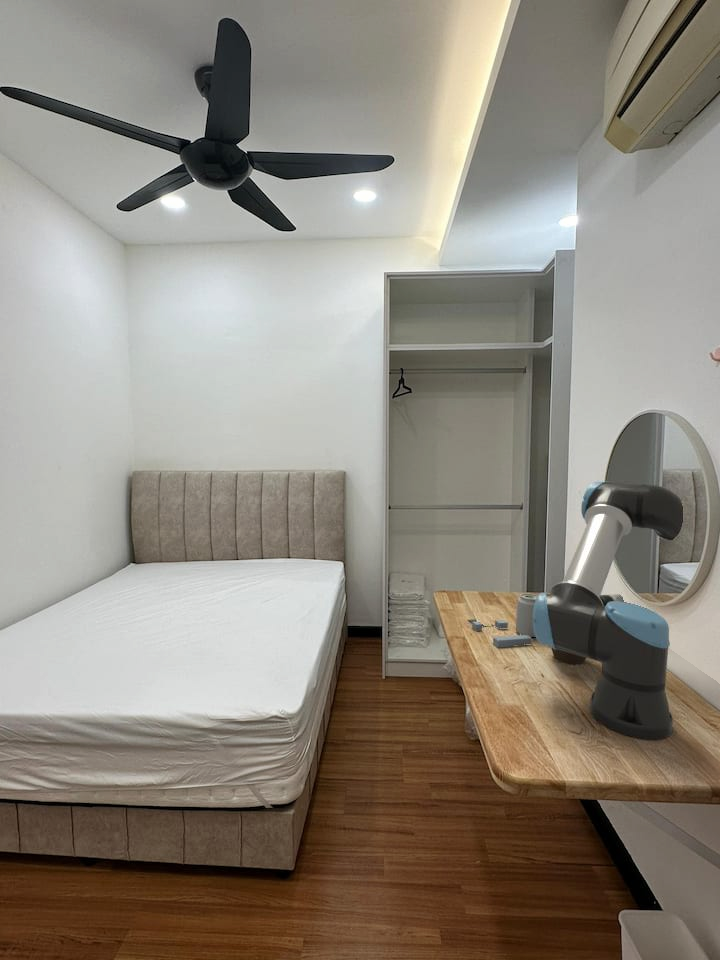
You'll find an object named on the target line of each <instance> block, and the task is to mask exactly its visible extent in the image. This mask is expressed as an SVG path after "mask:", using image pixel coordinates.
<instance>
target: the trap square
mask: <svg viewBox="0 0 720 960" xmlns="http://www.w3.org/2000/svg"><path fill="white" fill-rule="evenodd" d="M476 619H477V618H475V619H467V621H468V622H469V621H470V622H469V623H471V624H472V622H477V621H476ZM482 626H484V625H483V624H482Z"/></svg>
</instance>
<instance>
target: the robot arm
mask: <svg viewBox="0 0 720 960" xmlns="http://www.w3.org/2000/svg"><path fill="white" fill-rule="evenodd" d="M678 496H679V495H677V494H676V493H674V492H673V491H672V490H670V489H667V488H666V487H663V486H660V485H657V484H646V483H645V484H643V483H642V484H641V483H631V482H629V483H628V482H619V481H618V482H617V481H609V480H605V481H595V482H594V481H593V482H592V483H591V484H590V485H589V486H588V487H587V488H586V490H585V492H584V494H583V497H582V498H583V500H582V501H581V510H580V511H581V515H582V519H584V522H585V523H586V527H585V529H584V531H583V533H582V536H581V538H580V541H579V543H578V545H577V547H576V550H575V552H574V554H573V557H572V559H571V561H570V563H569V566H568V568H567V570H566V573H565V575H564V577H563V580H562V581H560V582H558V583H555V584H554V585H553V586H552V588H551V589H550V592H549V593H547V592H540V593H538V594H537V595H538V596H537V598H536V601H535V604H534V610H533V629H534V634H535V637H536V638H535V640H537V642H538V643H540V644H541V645H544V646H546V647H549V648H551V647H552V648H553V649H555V650H556V649H558V650H561V651H565V652H568V653H572V654H575V655H578V656H582V657H585V658H586V659H589V660H593V661H596V662H600V663H601V672H600V677H599V679H598V682H597V683H596V687H595V689H594V692H593V693H592V694H591V696H590V700H589V712H590V714H591V715H592V717H593V718H594V719H595V720H596V721H598V722H599V723H600V724H602V725H603V726H605V727H606V728H609V729H610V730H613V731H614V732H617V731H618V732H617V733H620V734H622V733H623V735H625V734H626V736H628V735H629V737H632V738H636V739H637V738H638V739H643V740H661V739H665V738H666V739H667V738H668V737H670V736H671V735H672V733H673V726H674V725H673V724H674V721H673V719H674V718H673V715H672V713H671V712H670V705H669V702H668V697H667V694H666V680H667V668H668V667H667V666H668V655H669V647H670V644H671V643H670V626H669V624H668V622H667V621H666V619H665V618H664V616H661V615H660V614H658V613H657V612H655V611H654V612H653V611H651V610H649V609H647V608H644V607H641V606H638V605H635V604H631V603H627V602H624V600H623V597H622V596H621V595H620V594H621V593H619V594H618V593H615V594H612V593H611V594H602V591H603V589H604V586H605V583H606V581H607V577H608V576H609V572H610V569H611V568H612V563H613V561H614V559H615V555H616V553H617V550H618V548H619V544H620V543H621V539H622V538H623V537H625V536H627V535H629V534H630V533H631V531H632V529H633V528H639V529H649V530H652V531H653V533H655V535H656V536H658V538H659V537H660V538H661V539H665V540H668V541H672V540H673V539H674V538H675V537H676V536H677V535H678V534H679V532H680V530H681V527H682V523H683V506H682V503H681V500H680V498H681V497H680V496H679V497H680V498H679V497H678Z"/></svg>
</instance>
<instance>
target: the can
mask: <svg viewBox="0 0 720 960" xmlns="http://www.w3.org/2000/svg"><path fill="white" fill-rule="evenodd" d="M538 595H539V594H536V593H535V594H534V593H528V592H527V593H525V592H524V593H520V594H519V597H518V598H517V601H516V619H515V631H516V632H517V633H519V634H521V635H528V636H530V637H535V634H534V629H533V610H534V604H535V601H536V598H537V596H538Z"/></svg>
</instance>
